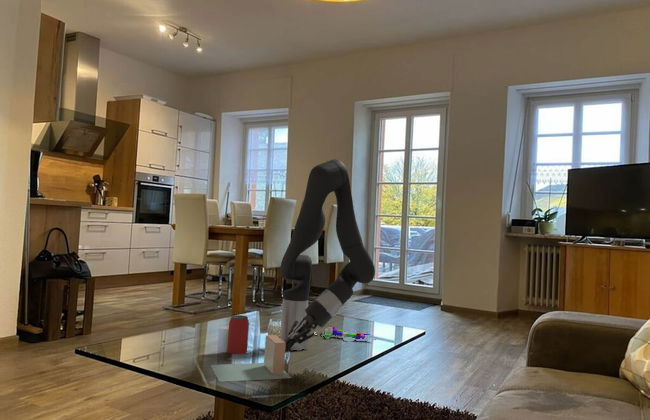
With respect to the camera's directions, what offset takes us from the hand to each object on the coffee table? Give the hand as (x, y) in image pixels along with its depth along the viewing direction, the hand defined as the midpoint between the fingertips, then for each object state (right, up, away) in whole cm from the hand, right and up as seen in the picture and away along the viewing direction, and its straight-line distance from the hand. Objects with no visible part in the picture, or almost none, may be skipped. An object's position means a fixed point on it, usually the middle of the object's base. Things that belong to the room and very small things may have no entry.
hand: (282, 349), depth 138 cm
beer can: (-17, -7, +18) cm, 25 cm away
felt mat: (-9, -6, -4) cm, 11 cm away
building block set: (+21, -12, +57) cm, 62 cm away
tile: (-3, -6, -1) cm, 6 cm away
